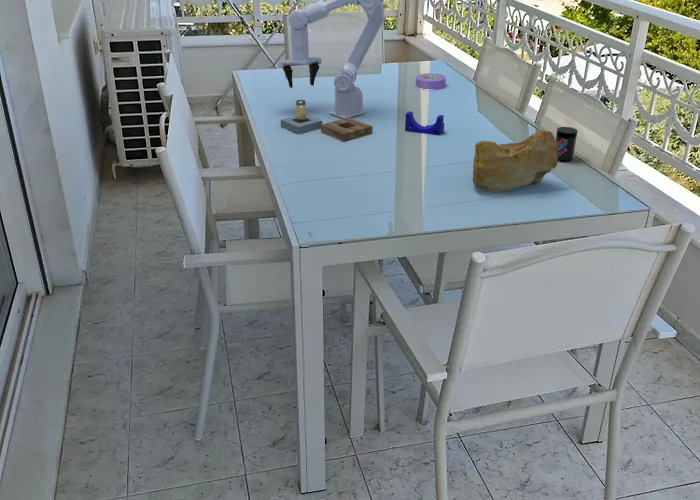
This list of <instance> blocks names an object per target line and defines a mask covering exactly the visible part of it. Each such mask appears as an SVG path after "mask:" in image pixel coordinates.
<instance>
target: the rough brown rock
mask: <svg viewBox="0 0 700 500" xmlns="http://www.w3.org/2000/svg"><path fill="white" fill-rule="evenodd" d="M474 146H475V147H474V148H475V149H474V157H473V167H472V168H473V170H472V182H473V183H472V184H473V185H474V186H475V187H477V188H480V189H483V190H484V191H487V192H497V193H500V192H502V193H503V192H508V191H510V190H514V189H516V188H517V189H518V188H523V187H525V186H530V187H531V186H537V185H539V184H540V183H541V181H542V180H543V178H544V177H545V175H547V174H549V173H550V172H551V171H552V170H554V169H556V167H557V165H558V162H559V161H558V160H557V159H558V146H557V142H556V138H555V136H554V133H553V132H551V131H549V130H542V131H537V132H534V133H532V134H531V135H530V136H529V137H527V138H526V139H524V140H522V141H519V142H509V143H501V144H498V143H496V142H495V141H491V140H480V141H478V142H476V143H475V145H474Z"/></svg>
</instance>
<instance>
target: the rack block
mask: <svg viewBox="0 0 700 500" xmlns="http://www.w3.org/2000/svg"><path fill="white" fill-rule="evenodd" d="M279 121H280V128H283V129H285V130H288V131H289V132H292V133H294V134H296V135H301V134H304V133H305V134H306V133H310V132H313V131H315V130H319V129H320V130H321V125H322V124H323V120H322V119H320V118H319V119H318V118H317V117H314V116H312V115H309V114H307V113H306V122H304V123H297V116H296V115H293V116H290V117H285V118H282V119H280V120H279Z"/></svg>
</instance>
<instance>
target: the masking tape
mask: <svg viewBox="0 0 700 500" xmlns="http://www.w3.org/2000/svg"><path fill="white" fill-rule="evenodd" d="M446 79H447V78H446V76H445V75H444V74H439V73H432V72H431V73H429V72H427V73H421V74H417V75H416V77H415V87H416V86H417V87H418V88H417V87H416V88H417V89H419V88H423V89H422V90H424V89H433V90H432V91H438V90H439V89H440V90H443V89H445V88H446ZM434 89H435V90H434Z"/></svg>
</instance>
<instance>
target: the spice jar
mask: <svg viewBox="0 0 700 500" xmlns="http://www.w3.org/2000/svg"><path fill="white" fill-rule="evenodd" d="M306 102H307V101H306V100H305V99H297V100H295V112H296V115H295V116H297V123H304V122H306V114H307V103H306Z"/></svg>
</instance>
